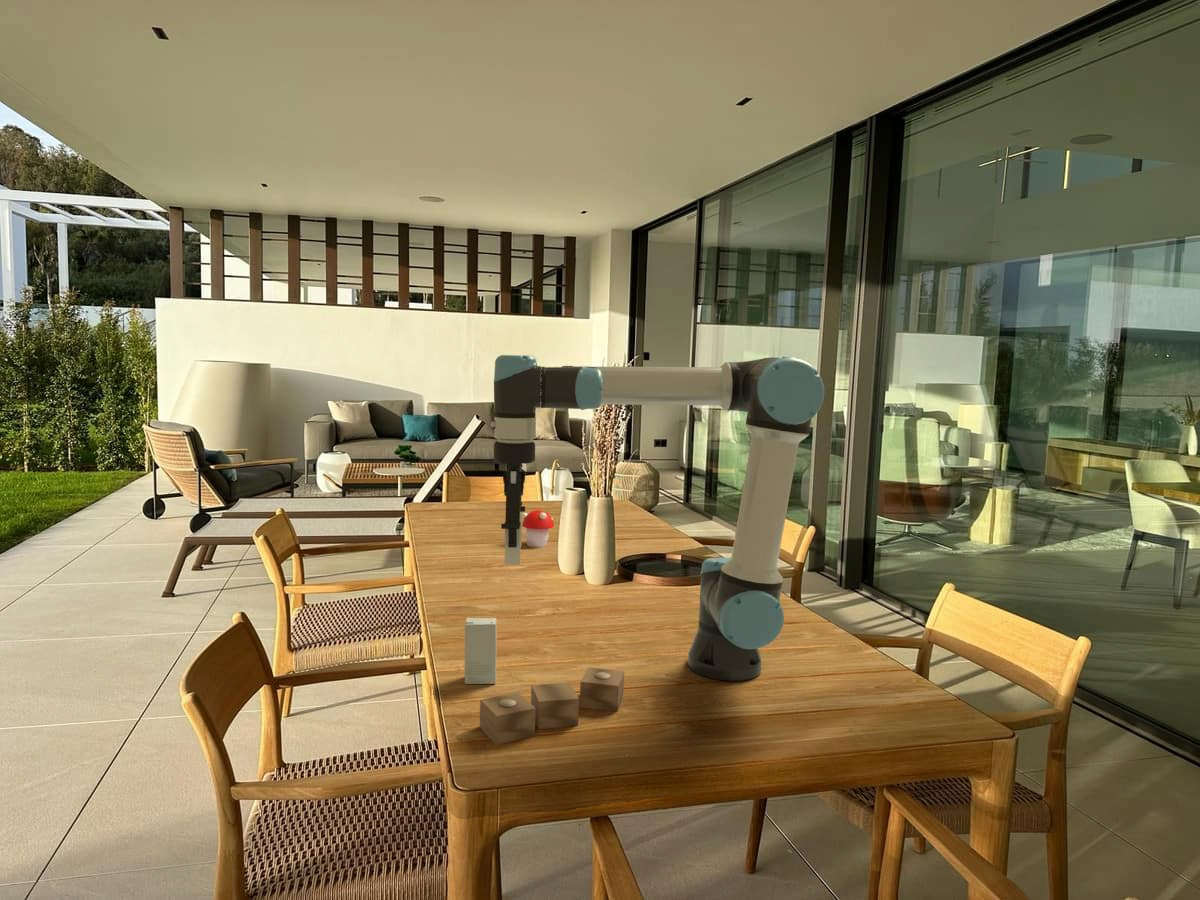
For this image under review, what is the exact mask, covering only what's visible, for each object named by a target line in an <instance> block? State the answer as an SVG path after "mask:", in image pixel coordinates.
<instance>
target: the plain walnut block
mask: <svg viewBox="0 0 1200 900" xmlns="http://www.w3.org/2000/svg"><path fill="white" fill-rule="evenodd" d="M530 688H531V689H530V704H532V705H533V706H534V707H535V708H536V713H535V726H536V727H537V729H538V730H540V729H541V730H542V729H551V728H552V729H554V728H555V729H556V728H564V727H565V728H566V727H567V728H568V727H577V726H579V710H580V697H579V696H578V695H577V693H576V690H575V689H574V687H573V686H572V683H571V682H558V683H555V682H554V683H544V684H543V683H540V684H531V687H530Z"/></svg>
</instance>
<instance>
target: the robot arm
mask: <svg viewBox="0 0 1200 900" xmlns="http://www.w3.org/2000/svg"><path fill="white" fill-rule="evenodd" d="M494 360H495V361H494V372H493V373H494V377H493V416H494V418H493V419H494V421H491V422H490V427H491V428H494V430H493V437H494V439H496V441H494V443H493V461H494V462H495V463H497V464H498V463H499V464H506V465H507V470H503V473H502V482H503V495H504V496H505V519H504V520H505V521H504V523H501V524H500V529H502V530H504V566H520V565H521V547H522V540H523V539H522V536H523V535H522V533H523V532H522V531H523V529H522V528H523V526H522V525H523V519H522V514H523V513H526V506H525V505H523V502H522V496H524V489H525V483H526V471H524V470H523V471H522V468H523V464H525V465H527V464H532V463H534V462H535V460H536V443H535V442H534V441H533V440H534V439H536V438H537V437H536V434H537V433H536V432H537V429H536V428H537V426H536V425H537V417H536V415H537V413H536V410H537V409H562V410H563V409H567V410H568V409H569V410H573V409H574V410H575V409H576V410H581V411H584V410H594V409H595V410H597V409H598V408H600V407H601V405H604V406H605V405H606V406H607V405H609V406H610V405H611V406H612V405H623V406H624V405H627V406H630V405H631V406H634V405H635V406H638V405H639V406H644V405H645V406H719V407H720V408H721V409H723V410H724V411H738V412H746V413H747V414H746V419H745V420H746V421H745V428H747V430H748V431H749V434H751V441H750V446H749V450H748V451H749V452H748V458H747V463H746V469H745V475H744V480H743V481H744V482H743V487H742V493H741V499H740V504H739V509H738V510H739V511H738V514H737V515H738V517H737V522H736V528H735V533H734V541H733V545H732V546H733V547H732V552H731V557H710V558H706V559H704V561H702V564H701V570H700V572H699V573H700V588H699V589H700V590H699V591H700V592H699V607H698V626H697V627H698V628H697V631H696V633H695V636H694V638H693V642H692V643H691V646H690V649H689V651H688V654H687V655H688V658H687V665H688V668H689V669H690V670H691V671H693V672H694V673H696V674H698V675H700V676H703V677H706V678H710V679H713V680H720V681H727V682H728V681H730V682H737V681H738V682H739V681H747V680H751V679H753V678H757V677H758V676H759V675H760V674H761V672H762V665H763V664H762V657H761V656H762V655H761V653H760V649H761V648H763V647H764V648H765V646H767V645H770V643H773V642H774V641H775V640H776V639H777V638H778V636H780V634H781V632H782V629H783V627H784V624H785V615H784V608H783V606H782V604H781V602H780V600H781V594H782V589H783V587H782V586H783V583H784V578H783V576H782V574H781V573H780V572H779V570H778V569H777V568H778V563H779V557H780V551H781V546H782V541H783V535H784V529H785V522H786V517H787V511H788V506H789V499H790V495H791V488H792V484H793V477H794V473H795V472H794V471H795V465H796V461H797V454H798V450H799V444H801V442H802V441H803V440H805V439H806V438H807V437H809V436H810V430H811V424H812V419H813V418H814V417H815V416H816V415H817V413H818V412H819V411H820V409H821V407H822V406H823V403H824V400H825V399H824V398H825V385H824V382H823V379H822V376H821V375H820V373H819V372H818V370H817V369H816V368H815V367H814V366H813V365H812V364H810V363H808V362H807V361H805V360H803V359H800V358H795V357H793V356H781V357H780V356H779V357H774V356H773V357H772V356H771V357H764V358H758V359H752V360H747V361H746V360H744V361H734V362H733V361H732V362H731V361H728V362H727V361H726V362H724V363H723V364H722V365H721V366H711V367H710V366H582V365H581V366H580V365H579V366H574V365H562V366H541V365H538V363H537V358H536V356H534V355H523V354H522V355H521V354H519V355H515V354H513V355H512V354H501V355H499V356H497V358H496V359H494ZM522 505H523V506H522Z"/></svg>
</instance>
